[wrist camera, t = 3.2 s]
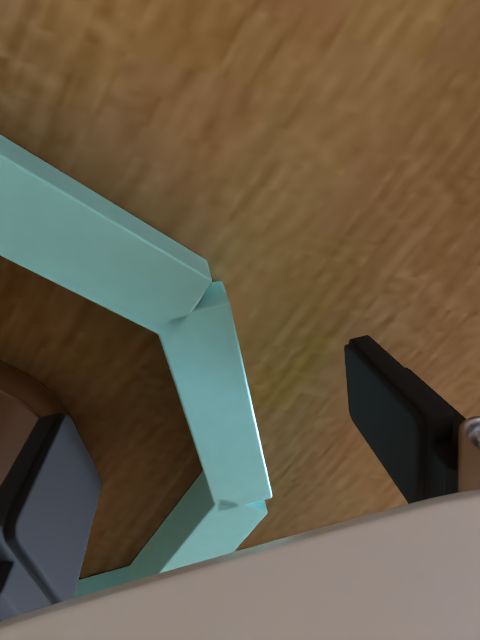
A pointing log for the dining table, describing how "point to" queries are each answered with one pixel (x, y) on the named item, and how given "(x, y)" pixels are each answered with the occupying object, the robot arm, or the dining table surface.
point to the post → (21, 412)
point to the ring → (176, 338)
